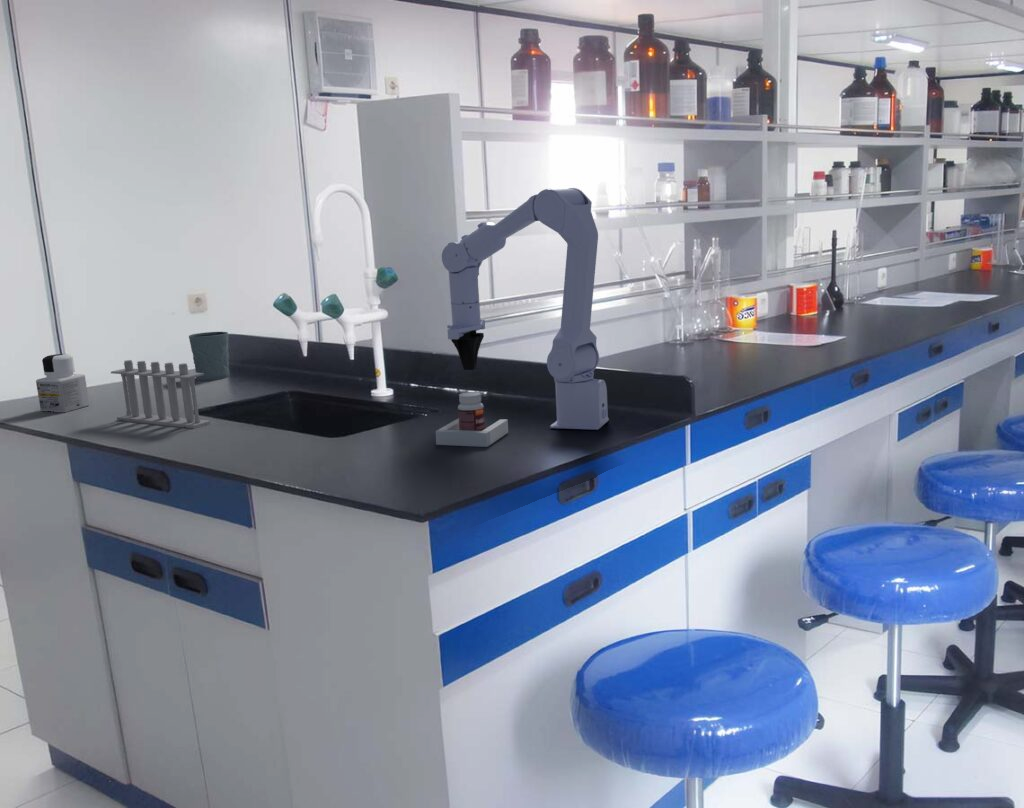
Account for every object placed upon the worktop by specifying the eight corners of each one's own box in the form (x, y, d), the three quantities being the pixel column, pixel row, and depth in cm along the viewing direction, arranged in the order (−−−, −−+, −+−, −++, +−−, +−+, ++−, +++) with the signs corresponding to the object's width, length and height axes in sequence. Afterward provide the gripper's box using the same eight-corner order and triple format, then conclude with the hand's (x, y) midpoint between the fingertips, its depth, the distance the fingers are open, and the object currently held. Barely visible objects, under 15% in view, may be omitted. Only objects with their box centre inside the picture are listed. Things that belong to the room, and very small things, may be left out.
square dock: (508, 432, 178) (507, 419, 177) (487, 446, 168) (486, 433, 168) (459, 430, 181) (458, 418, 181) (436, 444, 172) (435, 431, 171)
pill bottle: (481, 441, 172) (478, 396, 170) (456, 441, 173) (453, 396, 172) (488, 435, 177) (486, 391, 175) (464, 435, 178) (461, 391, 176)
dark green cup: (187, 381, 254) (181, 337, 251) (205, 374, 264) (200, 331, 261) (222, 380, 252) (217, 335, 250) (239, 373, 262) (234, 330, 259)
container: (40, 411, 224) (31, 357, 221) (66, 404, 231) (57, 352, 228) (64, 412, 221) (55, 357, 218) (90, 405, 228) (82, 352, 225)
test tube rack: (210, 424, 200) (203, 362, 197) (194, 429, 197) (186, 366, 194) (134, 416, 213) (125, 358, 210) (117, 420, 209) (108, 361, 207)
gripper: (461, 298, 198) (465, 362, 201) (431, 307, 185) (436, 375, 188) (492, 298, 195) (496, 363, 198) (464, 306, 182) (469, 376, 185)
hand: (469, 369), depth 193 cm, fingers closed
